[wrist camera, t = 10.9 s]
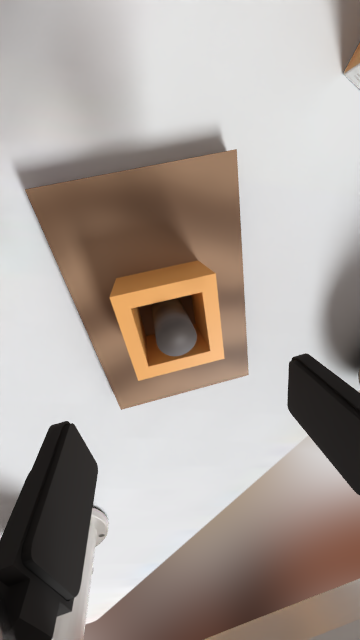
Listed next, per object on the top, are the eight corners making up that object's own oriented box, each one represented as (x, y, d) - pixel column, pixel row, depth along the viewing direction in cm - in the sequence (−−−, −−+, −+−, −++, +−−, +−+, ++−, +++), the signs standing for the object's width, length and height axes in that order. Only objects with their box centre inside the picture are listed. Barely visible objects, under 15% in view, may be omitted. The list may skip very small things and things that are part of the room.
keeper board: (242, 366, 25) (277, 416, 19) (121, 398, 24) (116, 462, 18) (228, 154, 16) (285, 116, 10) (34, 191, 15) (-38, 174, 9)
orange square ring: (207, 330, 20) (224, 358, 16) (137, 347, 20) (138, 380, 16) (197, 260, 18) (215, 273, 14) (116, 278, 17) (109, 297, 13)
